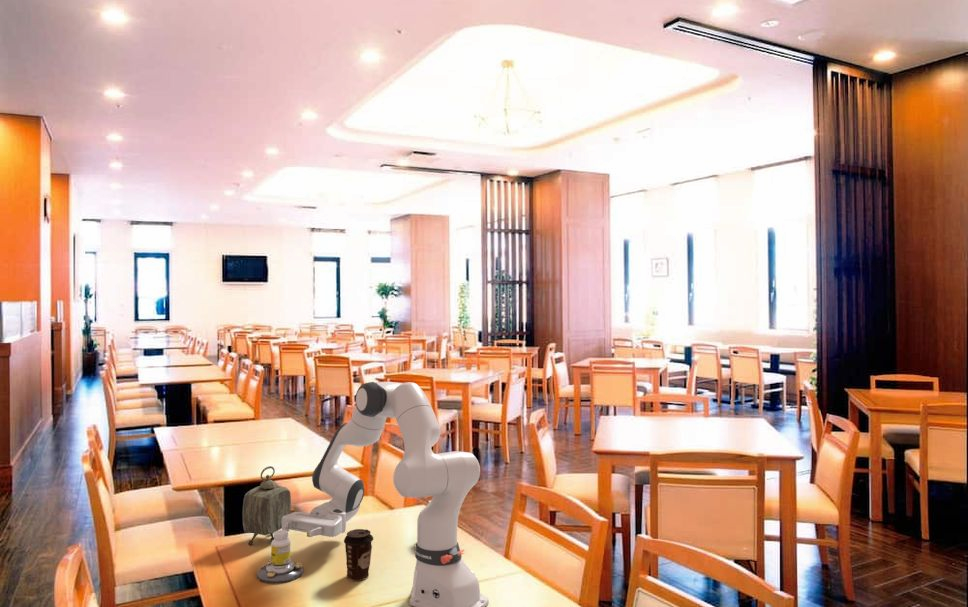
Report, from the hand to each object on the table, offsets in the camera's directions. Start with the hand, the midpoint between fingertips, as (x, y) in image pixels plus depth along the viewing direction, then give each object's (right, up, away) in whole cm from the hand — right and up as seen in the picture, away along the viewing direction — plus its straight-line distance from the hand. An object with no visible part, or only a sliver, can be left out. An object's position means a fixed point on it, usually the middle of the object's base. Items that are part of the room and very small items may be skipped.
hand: (296, 532), depth 202 cm
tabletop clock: (-15, -10, +20) cm, 27 cm away
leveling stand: (-3, -10, -6) cm, 12 cm away
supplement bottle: (-3, -8, -7) cm, 11 cm away
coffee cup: (+21, -11, -8) cm, 24 cm away
